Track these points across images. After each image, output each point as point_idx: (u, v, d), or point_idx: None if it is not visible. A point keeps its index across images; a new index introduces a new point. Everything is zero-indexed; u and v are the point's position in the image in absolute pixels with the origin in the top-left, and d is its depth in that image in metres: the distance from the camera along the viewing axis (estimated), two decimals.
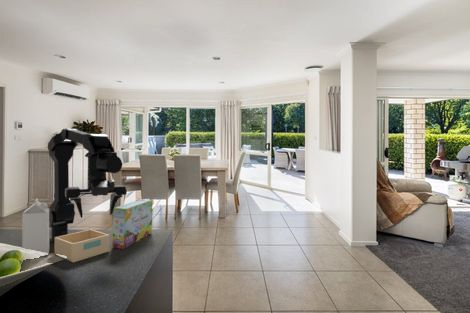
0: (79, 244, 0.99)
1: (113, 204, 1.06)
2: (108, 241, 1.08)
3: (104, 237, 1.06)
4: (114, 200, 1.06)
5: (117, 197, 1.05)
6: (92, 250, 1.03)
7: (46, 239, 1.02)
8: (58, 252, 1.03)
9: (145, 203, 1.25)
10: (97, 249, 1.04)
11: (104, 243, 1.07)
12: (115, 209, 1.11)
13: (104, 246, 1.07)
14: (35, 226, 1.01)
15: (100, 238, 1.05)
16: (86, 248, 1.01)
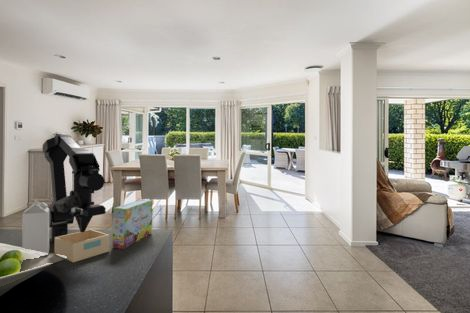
0: (79, 244, 0.99)
1: (80, 222, 1.04)
2: (108, 241, 1.08)
3: (104, 237, 1.06)
4: (79, 218, 1.04)
5: (78, 215, 1.03)
6: (92, 250, 1.03)
7: (46, 239, 1.02)
8: (58, 252, 1.03)
9: (145, 203, 1.25)
10: (97, 249, 1.04)
11: (104, 243, 1.07)
12: (115, 209, 1.11)
13: (104, 246, 1.07)
14: (35, 226, 1.01)
15: (100, 238, 1.05)
16: (86, 248, 1.01)
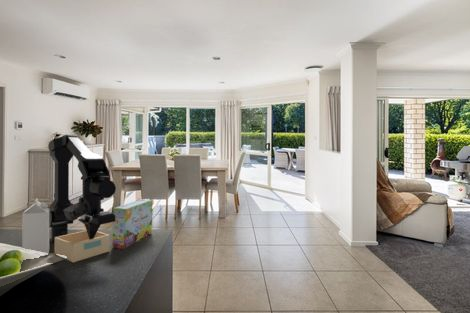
0: (79, 244, 0.99)
1: (89, 229, 1.01)
2: (108, 241, 1.08)
3: (104, 237, 1.06)
4: (88, 225, 1.01)
5: (86, 223, 1.00)
6: (92, 250, 1.03)
7: (46, 239, 1.02)
8: (58, 252, 1.03)
9: (145, 203, 1.25)
10: (97, 249, 1.04)
11: (104, 243, 1.07)
12: (115, 209, 1.11)
13: (104, 246, 1.07)
14: (35, 226, 1.01)
15: (100, 238, 1.05)
16: (86, 249, 1.01)
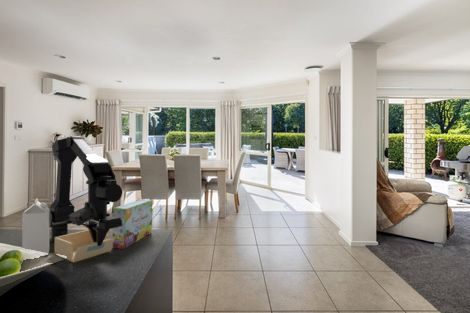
0: (83, 248, 0.98)
1: (97, 235, 0.99)
2: (111, 243, 1.07)
3: (109, 240, 1.05)
4: (96, 231, 0.98)
5: (94, 229, 0.97)
6: (94, 251, 1.02)
7: (46, 239, 1.02)
8: (58, 252, 1.03)
9: (145, 203, 1.25)
10: (98, 250, 1.04)
11: (107, 245, 1.06)
12: (115, 209, 1.11)
13: (106, 247, 1.06)
14: (35, 226, 1.01)
15: (105, 242, 1.04)
16: (89, 251, 1.00)
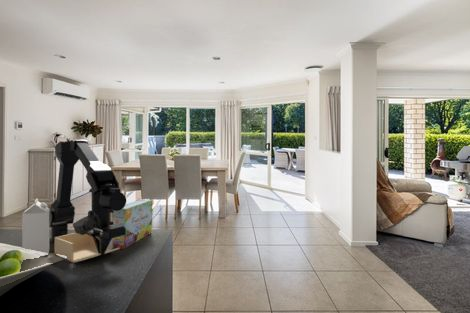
0: (88, 258, 0.96)
1: (100, 244, 0.98)
2: None
3: (113, 250, 1.04)
4: (99, 240, 0.98)
5: (97, 237, 0.96)
6: (95, 255, 1.02)
7: (46, 239, 1.02)
8: (58, 252, 1.03)
9: (145, 203, 1.25)
10: None
11: None
12: None
13: None
14: (35, 226, 1.01)
15: None
16: None
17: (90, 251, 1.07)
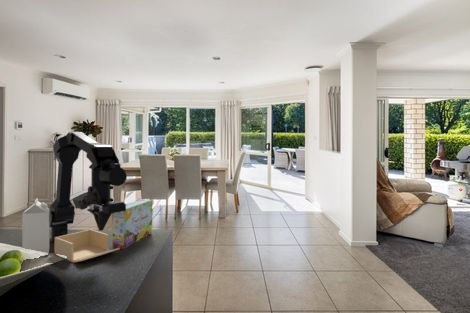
0: (88, 258, 0.96)
1: (99, 220, 0.98)
2: None
3: None
4: (98, 215, 0.98)
5: (96, 213, 0.96)
6: None
7: (46, 239, 1.02)
8: (58, 252, 1.03)
9: (145, 203, 1.25)
10: None
11: (109, 251, 1.05)
12: None
13: None
14: (35, 226, 1.01)
15: None
16: None
17: (90, 251, 1.07)
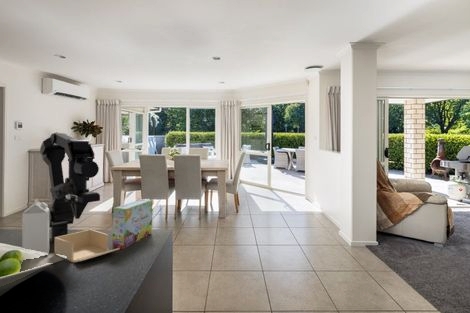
0: (88, 258, 0.96)
1: (75, 209, 1.06)
2: None
3: None
4: (74, 205, 1.06)
5: (73, 202, 1.04)
6: None
7: (46, 239, 1.02)
8: (58, 252, 1.03)
9: (145, 203, 1.25)
10: None
11: (109, 251, 1.05)
12: (115, 209, 1.11)
13: None
14: (35, 226, 1.01)
15: None
16: None
17: (90, 251, 1.07)
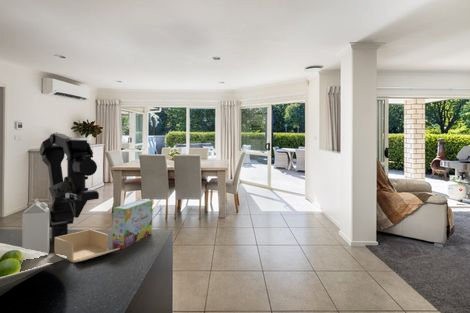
0: (88, 258, 0.96)
1: (74, 207, 1.06)
2: None
3: None
4: (73, 203, 1.06)
5: (71, 201, 1.05)
6: None
7: (46, 239, 1.02)
8: (58, 252, 1.03)
9: (145, 203, 1.25)
10: None
11: (109, 251, 1.05)
12: (115, 209, 1.11)
13: None
14: (35, 226, 1.01)
15: None
16: None
17: (90, 251, 1.07)
